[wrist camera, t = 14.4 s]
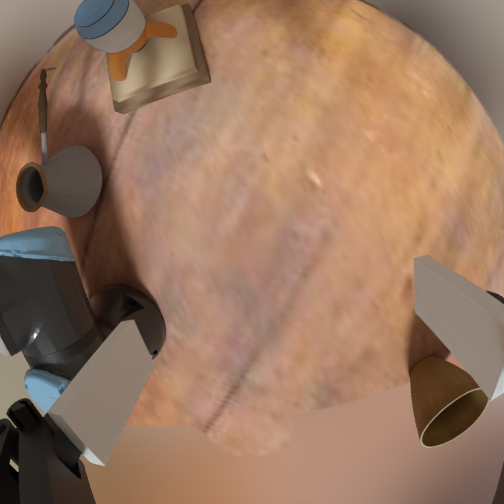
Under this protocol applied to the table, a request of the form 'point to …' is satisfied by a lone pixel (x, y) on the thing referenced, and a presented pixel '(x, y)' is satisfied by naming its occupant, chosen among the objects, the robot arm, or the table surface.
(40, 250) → the robot arm
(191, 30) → the pad
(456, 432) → the plant pot
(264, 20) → the table surface
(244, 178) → the table surface
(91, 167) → the coffee pot
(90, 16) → the toy rocket
